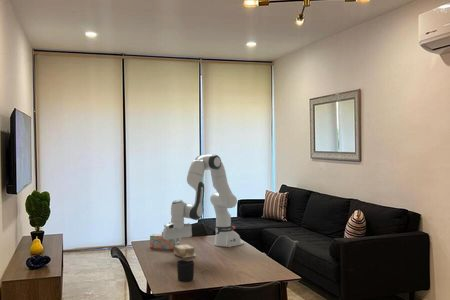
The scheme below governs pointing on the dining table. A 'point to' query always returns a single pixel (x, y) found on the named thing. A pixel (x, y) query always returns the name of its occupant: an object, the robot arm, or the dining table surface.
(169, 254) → the dining table surface
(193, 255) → the felt mat
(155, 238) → the stack of blocks
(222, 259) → the dining table surface
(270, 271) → the dining table surface
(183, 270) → the pen holder
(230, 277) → the dining table surface
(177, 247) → the oak block
